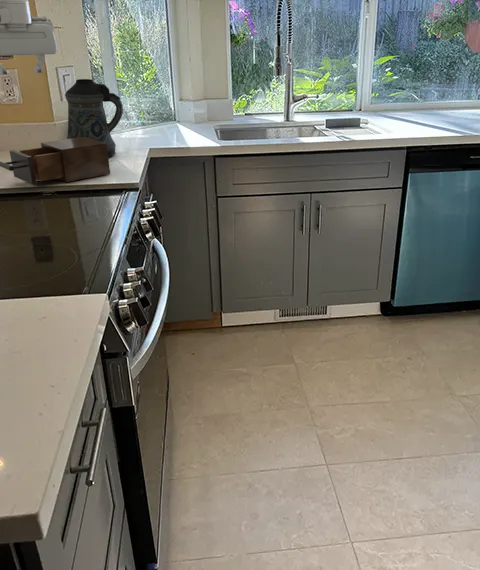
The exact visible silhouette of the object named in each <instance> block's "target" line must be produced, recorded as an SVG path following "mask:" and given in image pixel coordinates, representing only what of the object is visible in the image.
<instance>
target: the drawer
mask: <svg viewBox="0 0 480 570" xmlns="http://www.w3.org/2000/svg"><path fill="white" fill-rule="evenodd" d="M9 156H10V160H11V161H6V162H4V161H0V168H3V169H5V170H8V171H10V172H13V176H14V178H16V179H18V180H21V181H23V182H26V183H28V184H31V185H37V181H38V182H44V181H45V182H46V181H50V180H56V179H58V178H61V177H64V171H63V164H62V157H61V152H60V151H57V150H54V149H51V148H48V147H41V146H40V147H34V148H27V149H20V150H15V149H11V150H9ZM34 157H35V163H36V169H37V173H35V170H34V164H33V158H34Z"/></svg>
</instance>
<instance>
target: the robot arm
mask: <svg viewBox="0 0 480 570" xmlns="http://www.w3.org/2000/svg"><path fill="white" fill-rule="evenodd" d="M29 2H30V1H29V0H0V57H3V56H35V58H36V59H38V60H37V62H36V65H33V69H34V73H35V74H43V73H44V70H43V66H44V63H45V61H46V55H56V54H57V53H58V45H57V44H58V43H57V41H56V36H55V33H54V30H55V29H54V24H53V22H52V20H51V19H50V18H47V16H35V15H31V14H32V13H31V8H30V3H29ZM0 75H1V76H4V75H5V76H7V75H8V69H7V67H6V66H3V65H2V64H1V63H0Z"/></svg>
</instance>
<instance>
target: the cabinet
mask: <svg viewBox="0 0 480 570" xmlns="http://www.w3.org/2000/svg"><path fill="white" fill-rule="evenodd" d="M40 147H48V148H51V149H54V150H57V151H60V152H61V157H62V164H63V171H64V177H61V178H57V180H61V181H64V182H66V183H69V182H73V181H78V180H84V179H88V178H95V177H100V176H104V175H105V176H106V175H110V174H111V167H110V157H109V158H108V149H107V143H105V142H101V141H98V140H95V139H91V138H88V137H79V138H72V139H67V138H66V139H59V140H50V141H43V142H40Z"/></svg>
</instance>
